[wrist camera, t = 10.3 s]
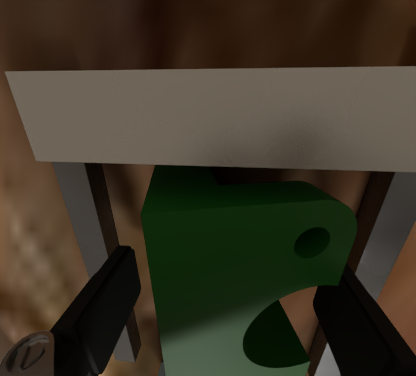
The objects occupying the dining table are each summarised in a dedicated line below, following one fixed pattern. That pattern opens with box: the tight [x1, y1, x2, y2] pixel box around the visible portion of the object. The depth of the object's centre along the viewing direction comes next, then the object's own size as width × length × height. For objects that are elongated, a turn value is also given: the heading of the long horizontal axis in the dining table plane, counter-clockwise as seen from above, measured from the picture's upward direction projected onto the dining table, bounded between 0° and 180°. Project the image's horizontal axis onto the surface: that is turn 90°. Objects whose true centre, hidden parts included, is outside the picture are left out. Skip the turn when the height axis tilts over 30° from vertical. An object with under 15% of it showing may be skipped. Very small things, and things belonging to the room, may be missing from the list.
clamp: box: [141, 165, 357, 376], centre depth 9 cm, size 12×6×9 cm, turn 174°
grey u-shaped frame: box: [5, 66, 416, 376], centre depth 10 cm, size 17×20×5 cm
